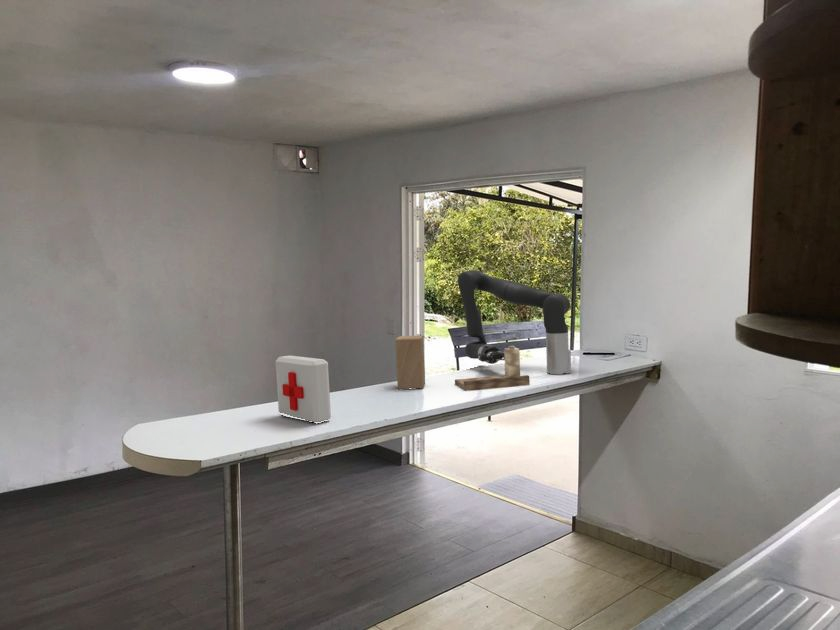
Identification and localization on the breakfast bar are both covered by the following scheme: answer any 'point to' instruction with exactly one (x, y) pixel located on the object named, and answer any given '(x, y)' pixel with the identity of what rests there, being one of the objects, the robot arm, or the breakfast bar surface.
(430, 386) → the breakfast bar surface
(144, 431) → the breakfast bar surface
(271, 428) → the breakfast bar surface
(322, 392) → the bevelled white case
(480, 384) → the board
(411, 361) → the wooden block
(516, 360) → the mottled beige cylinder
